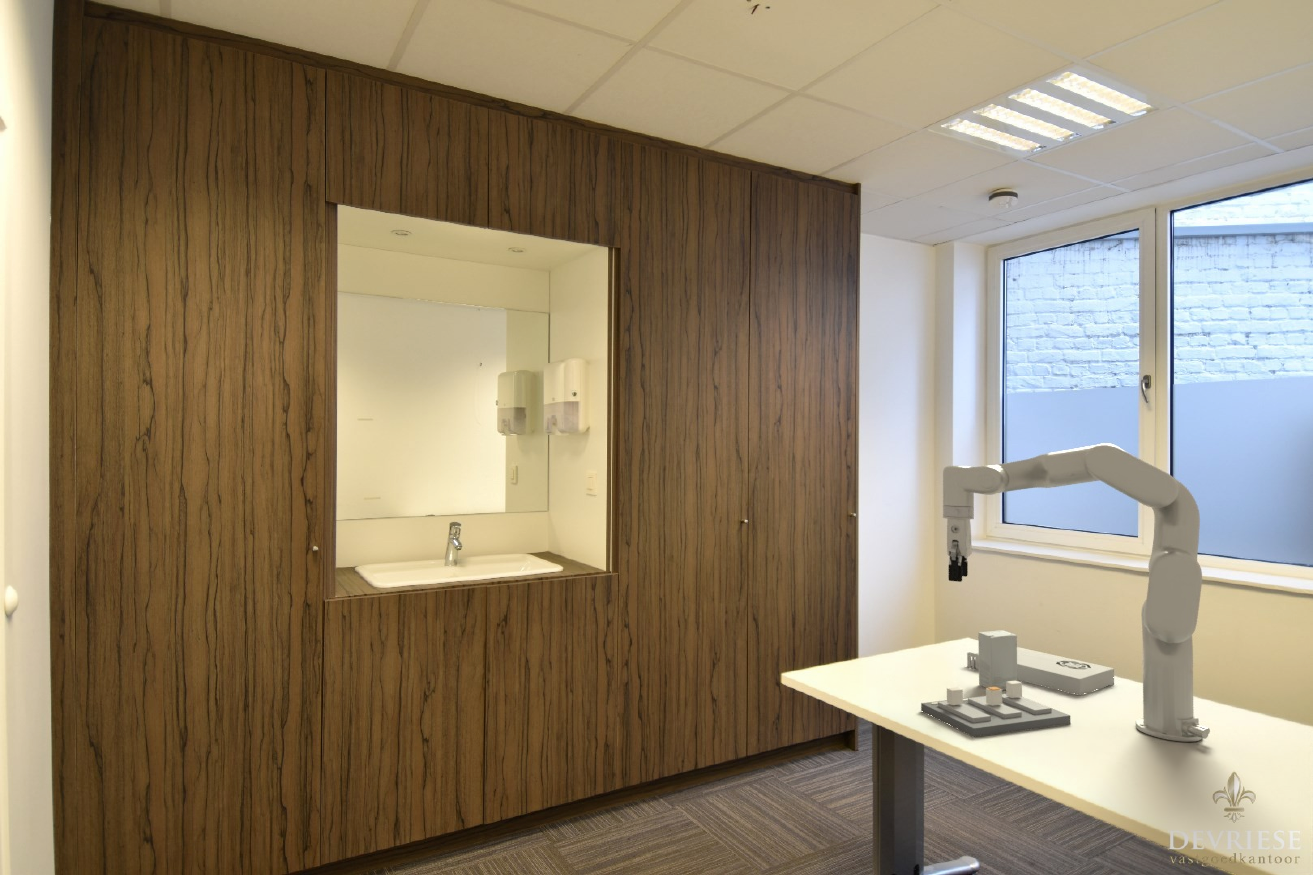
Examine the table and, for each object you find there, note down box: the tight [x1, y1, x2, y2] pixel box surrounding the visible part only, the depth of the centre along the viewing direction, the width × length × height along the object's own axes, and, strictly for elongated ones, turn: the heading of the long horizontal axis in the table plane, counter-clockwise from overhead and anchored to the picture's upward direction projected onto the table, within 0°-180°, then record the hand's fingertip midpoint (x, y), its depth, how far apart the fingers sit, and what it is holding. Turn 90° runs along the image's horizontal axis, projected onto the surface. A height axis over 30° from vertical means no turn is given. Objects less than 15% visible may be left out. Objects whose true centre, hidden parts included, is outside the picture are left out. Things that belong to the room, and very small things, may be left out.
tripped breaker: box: [985, 687, 1003, 706], centre depth 180 cm, size 2×3×4 cm, turn 109°
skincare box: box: [977, 629, 1018, 691], centre depth 204 cm, size 8×6×15 cm
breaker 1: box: [946, 686, 964, 705], centre depth 180 cm, size 2×3×4 cm, turn 109°
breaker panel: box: [920, 692, 1071, 738], centre depth 180 cm, size 18×28×3 cm, turn 109°
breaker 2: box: [1005, 680, 1023, 698], centre depth 186 cm, size 2×3×4 cm, turn 109°
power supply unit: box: [966, 646, 1115, 696], centre depth 216 cm, size 19×33×5 cm, turn 34°
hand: (958, 578), depth 195 cm, fingers open, 9 cm apart
